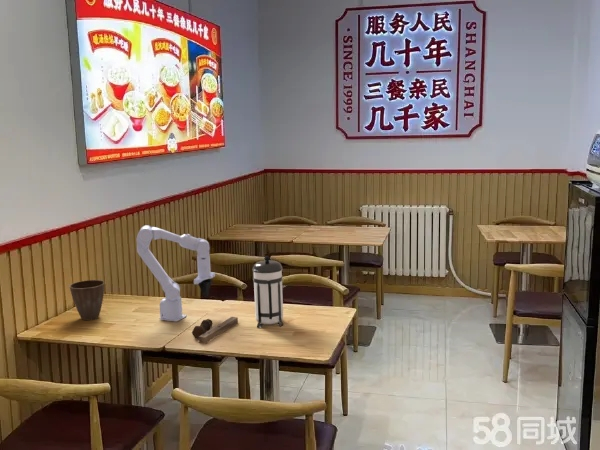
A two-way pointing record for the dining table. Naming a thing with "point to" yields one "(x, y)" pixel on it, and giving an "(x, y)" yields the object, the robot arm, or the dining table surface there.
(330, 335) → the dining table surface
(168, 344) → the dining table surface
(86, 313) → the plant pot
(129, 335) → the dining table surface
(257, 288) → the coffee press
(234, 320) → the batten
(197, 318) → the dining table surface
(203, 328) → the bolt
